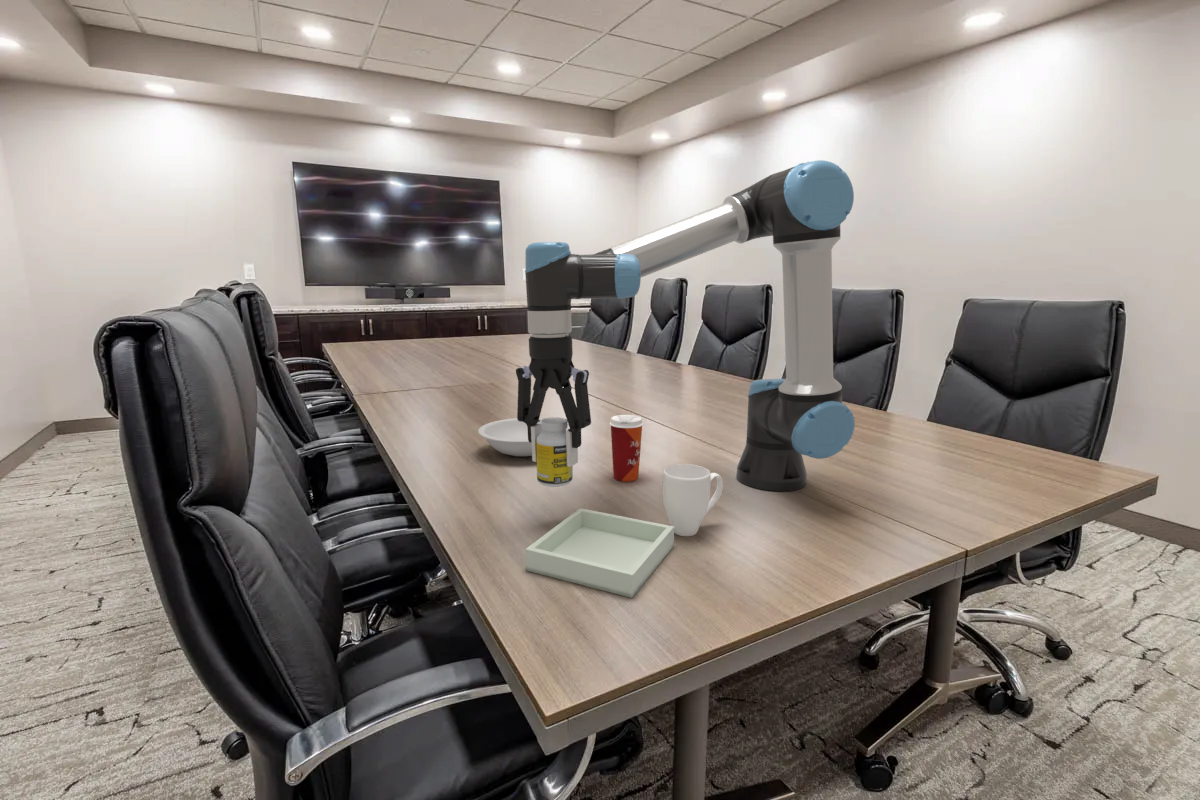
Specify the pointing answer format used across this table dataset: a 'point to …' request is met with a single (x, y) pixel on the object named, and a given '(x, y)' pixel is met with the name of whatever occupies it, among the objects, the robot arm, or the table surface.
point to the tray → (601, 551)
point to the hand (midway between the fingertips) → (555, 461)
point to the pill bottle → (553, 453)
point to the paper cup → (626, 446)
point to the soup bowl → (508, 436)
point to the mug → (688, 496)
